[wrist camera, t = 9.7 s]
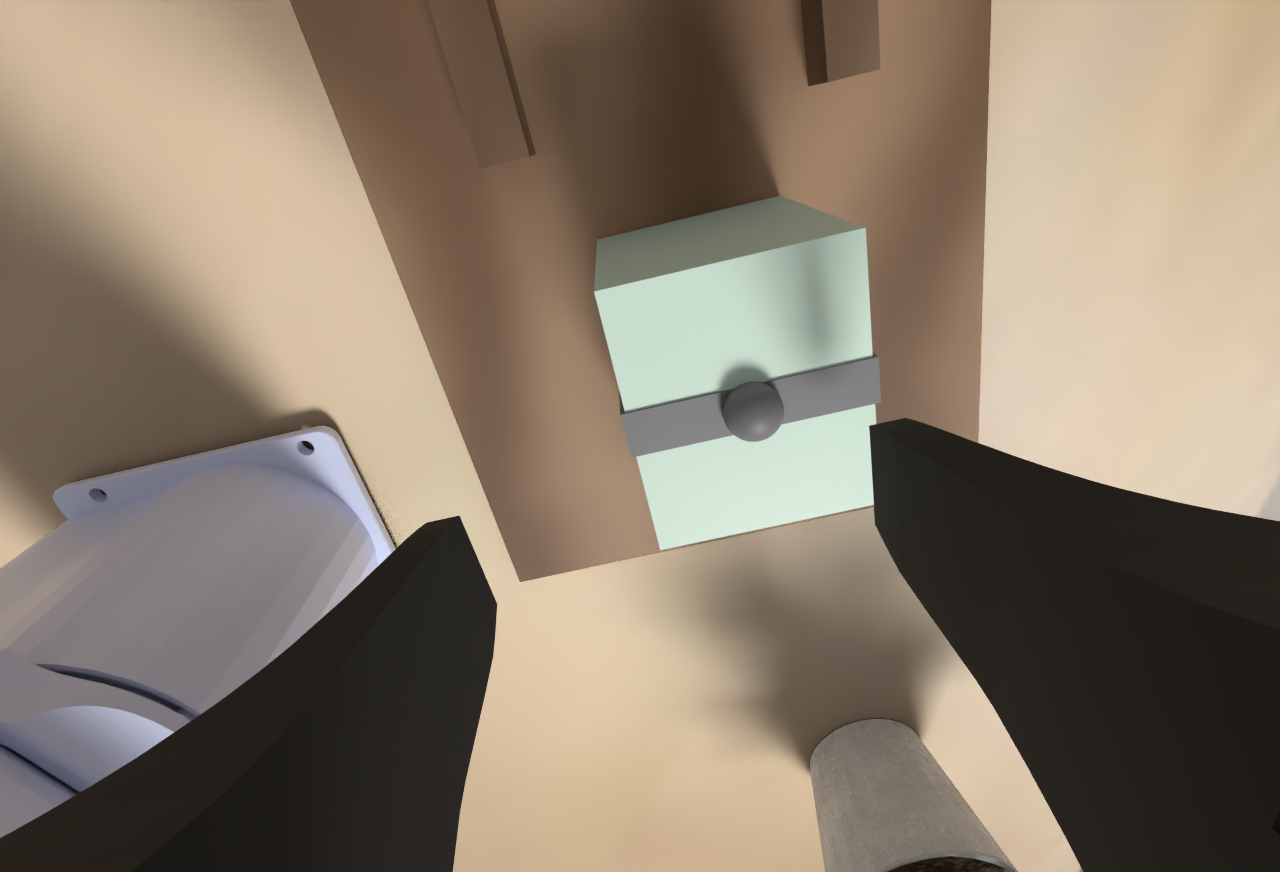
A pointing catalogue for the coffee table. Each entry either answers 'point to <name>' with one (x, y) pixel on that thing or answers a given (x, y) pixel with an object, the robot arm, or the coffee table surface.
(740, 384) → the sage block
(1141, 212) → the coffee table surface
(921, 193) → the shelf
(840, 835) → the house plant
